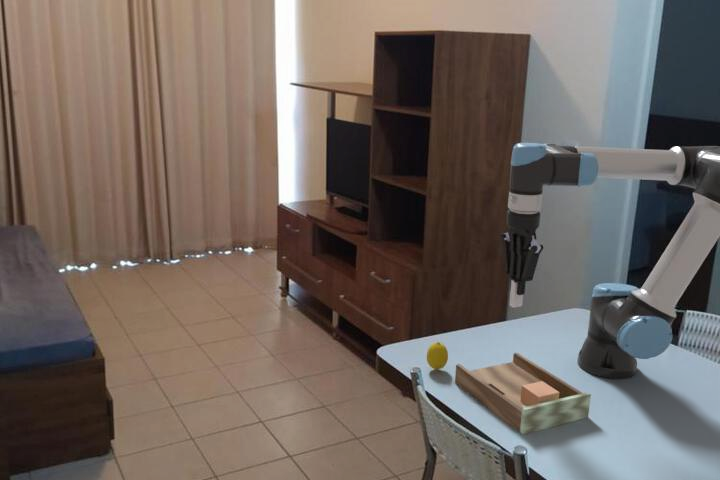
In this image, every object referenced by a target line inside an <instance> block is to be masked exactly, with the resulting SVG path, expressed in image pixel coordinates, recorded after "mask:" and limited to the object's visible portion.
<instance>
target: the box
mask: <svg viewBox="0 0 720 480" xmlns="http://www.w3.org/2000/svg"><path fill="white" fill-rule="evenodd" d="M454 378H455V379H454V384H456V385H457V386H459V387H460V388H461V389H463V390H464V391H465V392H466V393H467V394H469V396H470V395H471V396H472V397H473V398H475V400H477V401H478V402H479V403H481V404H482V405H484V406H485V407H486V408H487V409H488V410H490V411H491V412H493V413H494V414H495V415H497V416H498V417H499V418H501V419H502V420H503V421H504V422H506V423H507V424H508V425H509V426H511V427H513V428H514V429H515V430H516V431H517V432H519V433H520V434H522V435H526V434H527V435H528V434H530V433H533V432H537V431H542V430H545V429H549V428H553V427H556V426H560V425H564V424H567V423H572V422H576V421H578V420H579V421H580V420H583V419H587V418H589V414H590V406H591V398H592V394H591V393H590V392H588V391H586V392H582V391H580V390H579V389H577V388H575V387H574V386H572V385H571V384H569V383H567V382H565V380H562V379H560V378H559V377H557V376H556V375H554V374H552V373H551V372H549V371H548V370H546V369H545V368H543V367H541V366H539V365H538V364H536V363H534V362H533V361H531V360H530V359H528V358H527V357H525V356H523V355H521V354H520V353H519V352H513V357H512V361H511V362H506V363H501V364H496V365H491V366H487V367H482V368H481V367H480V368H477V369H472V370H469V369H467V367H465V366H463V365H461V364H460V363H457V364H456V365H455V376H454ZM540 381H543V382H544V383H546V384H548V385H549V386H551V387H552V388H554V389H555V390H557V391H558V392H559V399H557V400H553V401H549V402H545V403H541V404H537V405H533V406H527V405H525V404H524V403H522V402H521V401H520V400H521V390H522V386H523V385H527V384H531V383H536V382H540Z"/></svg>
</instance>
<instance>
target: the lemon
mask: <svg viewBox="0 0 720 480" xmlns="http://www.w3.org/2000/svg"><path fill="white" fill-rule="evenodd" d="M448 360H449V353H448V349H447V347H446V345H445V344H443V343H441V342H439V341H437V342H433V343H432V344H430V346H429V347H428V349H427V350H426V361H427V364H428V365H429V367H430V368H432V369H433V370H435V371H439V370H441V369H442V368H443V369H444V367H446V365H447V363H448Z"/></svg>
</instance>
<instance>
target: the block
mask: <svg viewBox="0 0 720 480" xmlns="http://www.w3.org/2000/svg"><path fill="white" fill-rule="evenodd" d="M557 399H559V392H558V391H557V390H555V389H554V388H552V387H551V386H549V385H548V384H546V383H544V382H543V381H540V382H536V383H531V384H527V385H523V386H522V390H521V400H520V401H521V402H522V403H524V404H525V405H527V406H533V405H537V404H541V403H545V402H549V401H553V400H557Z"/></svg>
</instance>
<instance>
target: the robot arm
mask: <svg viewBox="0 0 720 480" xmlns="http://www.w3.org/2000/svg"><path fill="white" fill-rule="evenodd" d="M509 174H510V175H509V176H510V177H509V190H508V198H507V200H508V201H507V208H508V210H507V212H506V223H505V224H506V226H507V227H508V229H507V232H505V233H501V234H500V241H501V243H502V252H503V253H502V255H503V266H504V274H505V275H508V277H509V279H510V281H509V282H510V283H509V291H510V293H509V307H511V308H513V309H515V308H519V307H523V302H524V301H523V300H524V295H525V293H526V283H527V282H532V281H533V280H534V275H535V272H536V268H537V265H538V262H539V257H540V255H541V253H542V251H543V250H544V245H543V244H539V243H538V241H537V234H536V233H537V232H536V231H537V230H538V228H539V227H540V223H541V221H540V220H541V212H540V211H541V210H542V200H543V192H544V191H543V187H544V186H562V187H563V186H564V187H565V186H567V187H568V186H569V187H578V188H579V187H584V186H586V187H588V186H592V185H593V184H594V183H595V182H596V180H597V178H599V179H600V178H601V179H621V180H626V179H627V180H643V181H644V180H646V181H647V180H648V181H666V182H667V183H668V184H669V185H671V186H683V187H688V188H691V189H694V191H693V192H692V197H693V201H694V202H693V205H692V206H691V208H690V210H689V212H687V214H686V215H685V218H684V219H683V221H682V223H681V224H680V226H679V227H678V229H677V231H676V232H675V234H673V237H672V238H671V240H670V242H669V243H668V245H667V246H666V248H665V250H664V252H662V254H661V256H660V258H659V259H658V261H657V263H656V264H655V266H653V269H652V271H651V272H650V273H649V275H648V277H647V278H646V279H645V282H644V283H643V285H642V286H641V287H640V288H639V287H637V286H634V285H631V284H625V283H614V282H606V283H598V284H596V285H595V286H594V288H593V289H592V295H591V300H590V301H591V302H590V310H589V320H588V329H587V336H586V338H585V339H584V342H583V343H582V344H583V345H582V347H581V349H580V350H579V352H578V356H577V364H578V366H579V367H580V368H581V369H582V370H584V371H585V372H588V373H589V374H592V375H594V376H597V377H601V378H607V379H627V378H630V377H633V376H634V375H635V374H636V373H637V368H638V360H637V359H639V360H649V359H651V358H656V357H658V356H660V355H662V354H663V353H664V352H665V351H666V350H667V349H668V348H669V346H670V345H671V343H672V340H673V330H672V326H671V325H672V324H673V322H674V321H675V319H676V318H677V312H676V310H675V307H676V305H677V303H678V302H679V300H680V299H681V297H682V296H683V294H684V292H686V290H687V287H688V286H689V285H690V284H691V282H692V280H693V278H694V277H695V275H696V274H697V272H698V271H699V269H700V268H701V266H702V265H703V263H704V261H705V259H706V258H707V257H708V255H709V253H710V252H711V250H712V249H713V248H714V246H715V244H716V242H717V241H718V239H719V238H720V146H718V145H703V146H702V145H698V146H696V145H695V146H672V147H671V148H670V149H648V148H646V149H645V148H626V147H625V148H624V147H623V148H621V147H604V146H603V147H602V146H601V147H600V146H599V147H597V146H581V145H580V146H576V145H574V146H573V145H557V144H555V143H550V142H549V143H548V142H547V143H546V142H545V143H538V142H519V143H518V142H517V143H516V144H514V146H513V149H512V153H511V159H510V173H509Z"/></svg>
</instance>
